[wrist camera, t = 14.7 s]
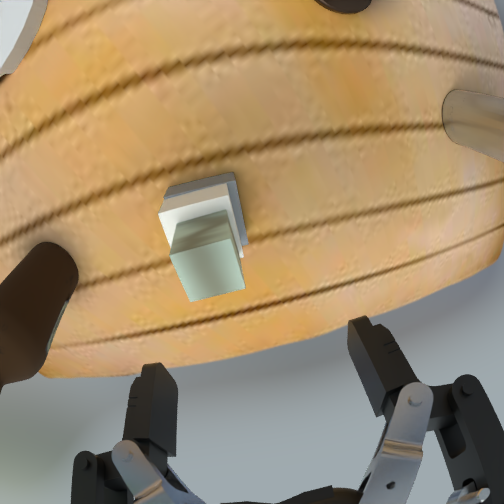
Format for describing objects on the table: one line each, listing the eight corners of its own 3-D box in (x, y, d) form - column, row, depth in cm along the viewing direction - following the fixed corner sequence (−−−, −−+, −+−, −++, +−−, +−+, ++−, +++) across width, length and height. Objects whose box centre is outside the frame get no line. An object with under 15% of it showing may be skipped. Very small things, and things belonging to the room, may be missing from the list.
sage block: (226, 209, 26) (230, 238, 21) (238, 252, 29) (245, 288, 24) (176, 223, 26) (169, 255, 21) (193, 264, 29) (190, 302, 24)
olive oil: (19, 258, 33) (-58, 375, 12) (50, 224, 32) (-50, 357, 10) (59, 304, 39) (7, 430, 17) (95, 278, 37) (36, 428, 16)
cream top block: (226, 182, 29) (228, 195, 26) (240, 239, 33) (243, 257, 29) (164, 199, 29) (158, 213, 26) (183, 253, 33) (180, 272, 29)
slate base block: (232, 171, 33) (235, 180, 29) (244, 229, 37) (248, 244, 33) (168, 186, 32) (163, 197, 29) (185, 242, 37) (183, 258, 33)
